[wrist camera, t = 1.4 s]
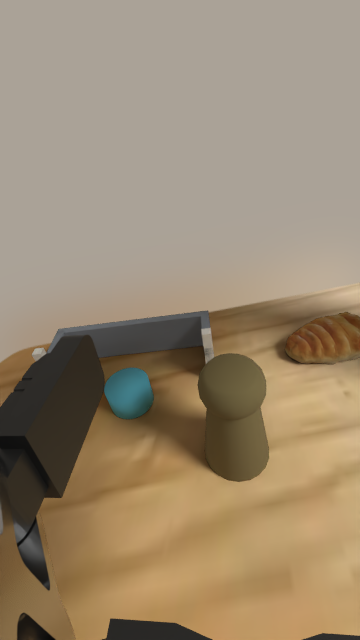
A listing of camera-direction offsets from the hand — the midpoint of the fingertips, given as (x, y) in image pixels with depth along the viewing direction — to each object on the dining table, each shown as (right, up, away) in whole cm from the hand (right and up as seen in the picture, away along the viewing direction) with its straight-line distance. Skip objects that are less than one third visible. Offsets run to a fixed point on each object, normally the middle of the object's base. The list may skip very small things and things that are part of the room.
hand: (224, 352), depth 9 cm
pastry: (+17, -3, +29) cm, 34 cm away
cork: (+4, -12, +20) cm, 24 cm away
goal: (-7, -5, +31) cm, 32 cm away
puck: (-7, -9, +27) cm, 29 cm away
